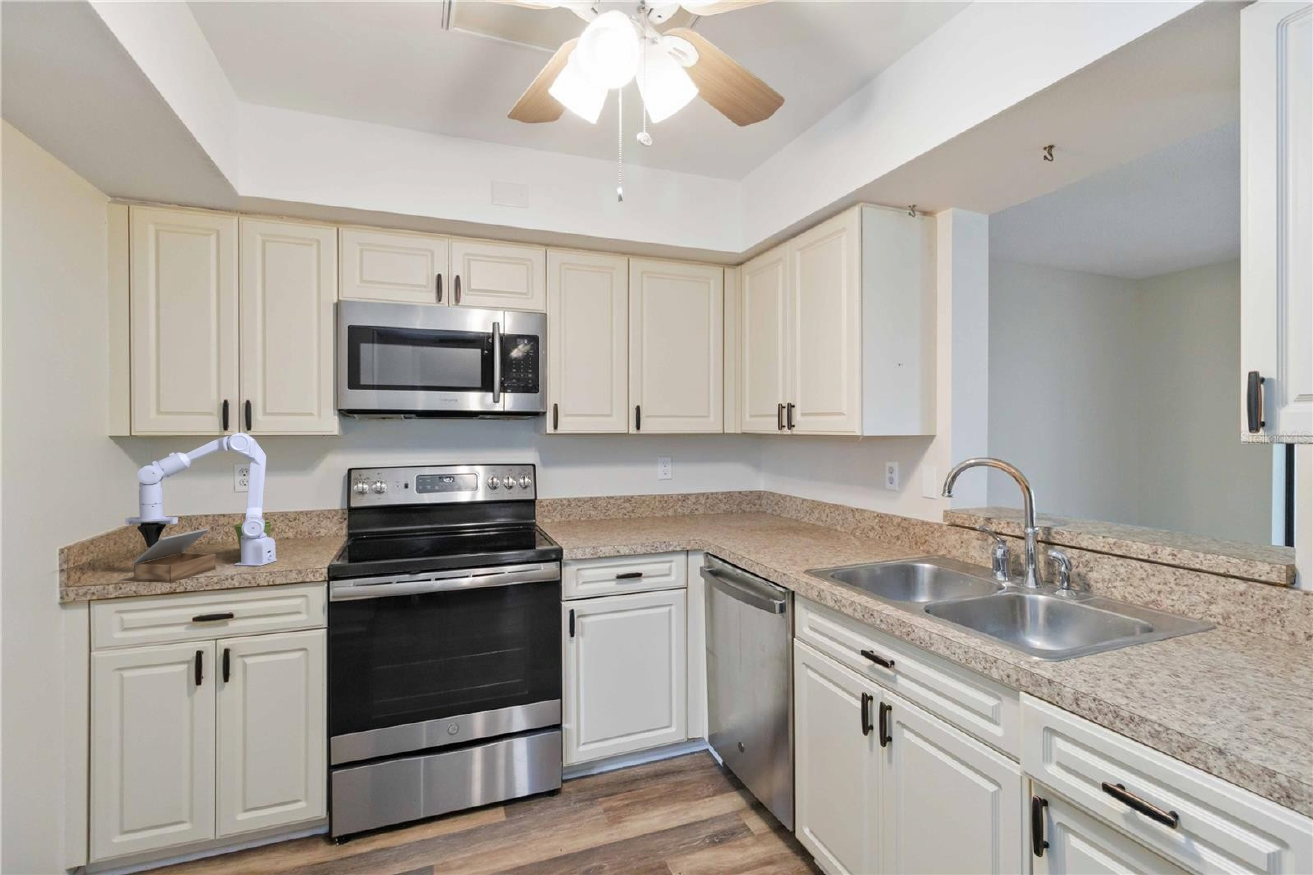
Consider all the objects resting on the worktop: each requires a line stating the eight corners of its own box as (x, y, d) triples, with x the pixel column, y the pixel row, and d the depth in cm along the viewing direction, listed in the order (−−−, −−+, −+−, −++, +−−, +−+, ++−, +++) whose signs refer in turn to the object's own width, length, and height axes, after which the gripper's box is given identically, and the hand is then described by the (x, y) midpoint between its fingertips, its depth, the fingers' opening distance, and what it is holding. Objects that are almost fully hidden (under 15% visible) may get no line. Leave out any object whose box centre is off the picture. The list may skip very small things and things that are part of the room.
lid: (209, 529, 194) (207, 528, 194) (162, 539, 177) (161, 537, 177) (181, 552, 195) (180, 550, 195) (133, 564, 178) (131, 562, 178)
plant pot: (276, 555, 215) (276, 523, 214) (236, 560, 206) (236, 527, 206) (269, 550, 223) (268, 519, 223) (230, 554, 215) (229, 523, 215)
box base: (215, 569, 193) (215, 553, 193) (171, 582, 178) (170, 565, 177) (181, 568, 195) (181, 553, 194) (134, 581, 179) (133, 564, 179)
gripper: (184, 501, 192) (185, 544, 192) (138, 502, 191) (139, 544, 191) (167, 505, 185) (168, 548, 185) (118, 505, 184) (119, 549, 184)
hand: (152, 547), depth 188 cm, fingers closed
